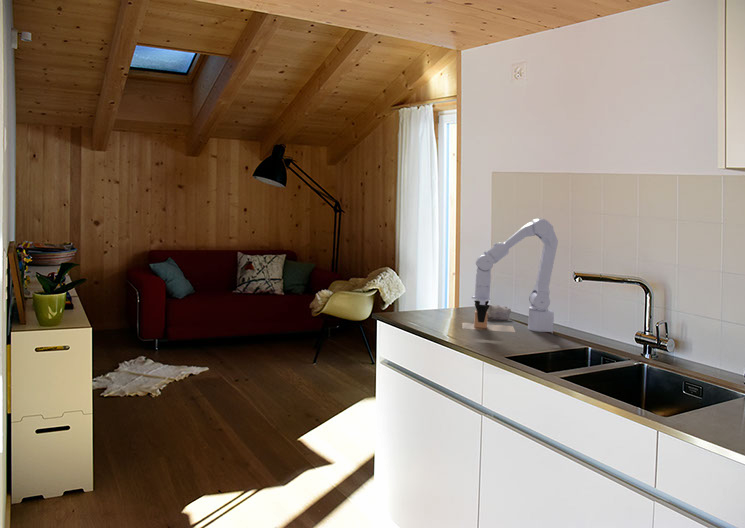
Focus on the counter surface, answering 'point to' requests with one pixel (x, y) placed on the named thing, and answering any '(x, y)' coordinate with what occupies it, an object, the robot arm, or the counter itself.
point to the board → (489, 327)
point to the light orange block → (480, 324)
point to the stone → (498, 312)
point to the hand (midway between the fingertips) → (480, 320)
